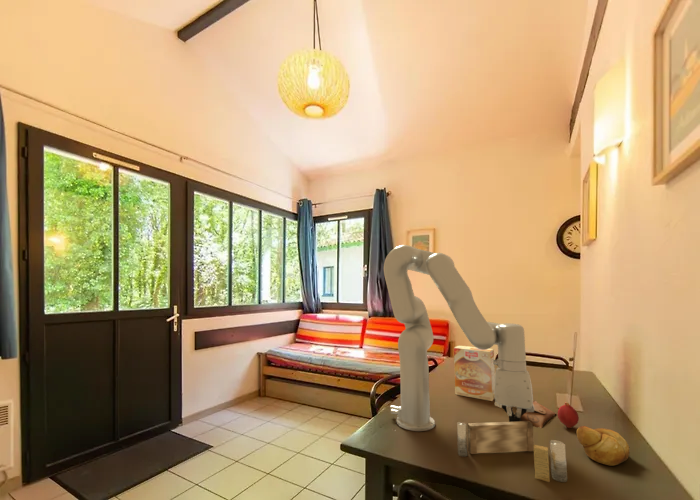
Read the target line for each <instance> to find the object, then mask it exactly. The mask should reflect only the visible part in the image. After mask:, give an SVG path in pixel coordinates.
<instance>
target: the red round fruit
mask: <svg viewBox="0 0 700 500" xmlns="http://www.w3.org/2000/svg"><path fill="white" fill-rule="evenodd" d="M556 415H557V419H558V420H559V421H560V423H562V424H563V425H564V426H565V427H566V428H567V429H571V428H574V427H575V426H576V425H577V424H578V423H579V420H580V419H579V413H578V411H577V410H576V409H575V408H574V407H573V406H571V404H570V403H569V402H567V401H566V402H564V404H563V405H561V406H559V408H558V410H557V413H556Z"/></svg>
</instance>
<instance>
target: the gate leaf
mask: <svg viewBox="0 0 700 500" xmlns="http://www.w3.org/2000/svg"><path fill="white" fill-rule="evenodd" d="M466 430H467V452H469V453H470V454H472V455H474V454H476V455H477V454H481V453H508V452H534V445H535V442H534V441H535V440H534V439H535V438H534V426H533V424H532V423H531V422H529V421H519V422H509V421H499V422H498V421H496V422H495V421H494V422H468V423H466Z"/></svg>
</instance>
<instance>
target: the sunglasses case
mask: <svg viewBox="0 0 700 500" xmlns="http://www.w3.org/2000/svg"><path fill="white" fill-rule="evenodd" d="M533 405H534V409H535V411H534V412H526V413H524V414H523V415H522V416H521V417H520V419H521V421H529V422H531V423H532V424H533V427H534V426H535V428H538V427H540V428H539V429H543V428H544V426H543V425H545V424H547V422H549V420H551V419H552V418H553V417H555V416H556V415H557V413H556V412H554V411H552V410H551V409H549V408H547V407H546V406H544V405H542V404H541V403H539V402H538V401H537V400H535V399H533ZM555 414H556V415H555ZM554 415H555V416H554ZM552 416H553V417H552ZM551 417H552V418H551ZM550 418H551V419H550ZM542 427H543V428H542Z"/></svg>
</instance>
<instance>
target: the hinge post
mask: <svg viewBox="0 0 700 500" xmlns="http://www.w3.org/2000/svg"><path fill="white" fill-rule="evenodd" d="M456 425H457V426H456V427H457V428H456V432H457V433H456V434H457V455H458V456H460V457H464V458H465V457H467V456H468V431H467V423H466V422H463V421H458V422H456Z"/></svg>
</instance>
